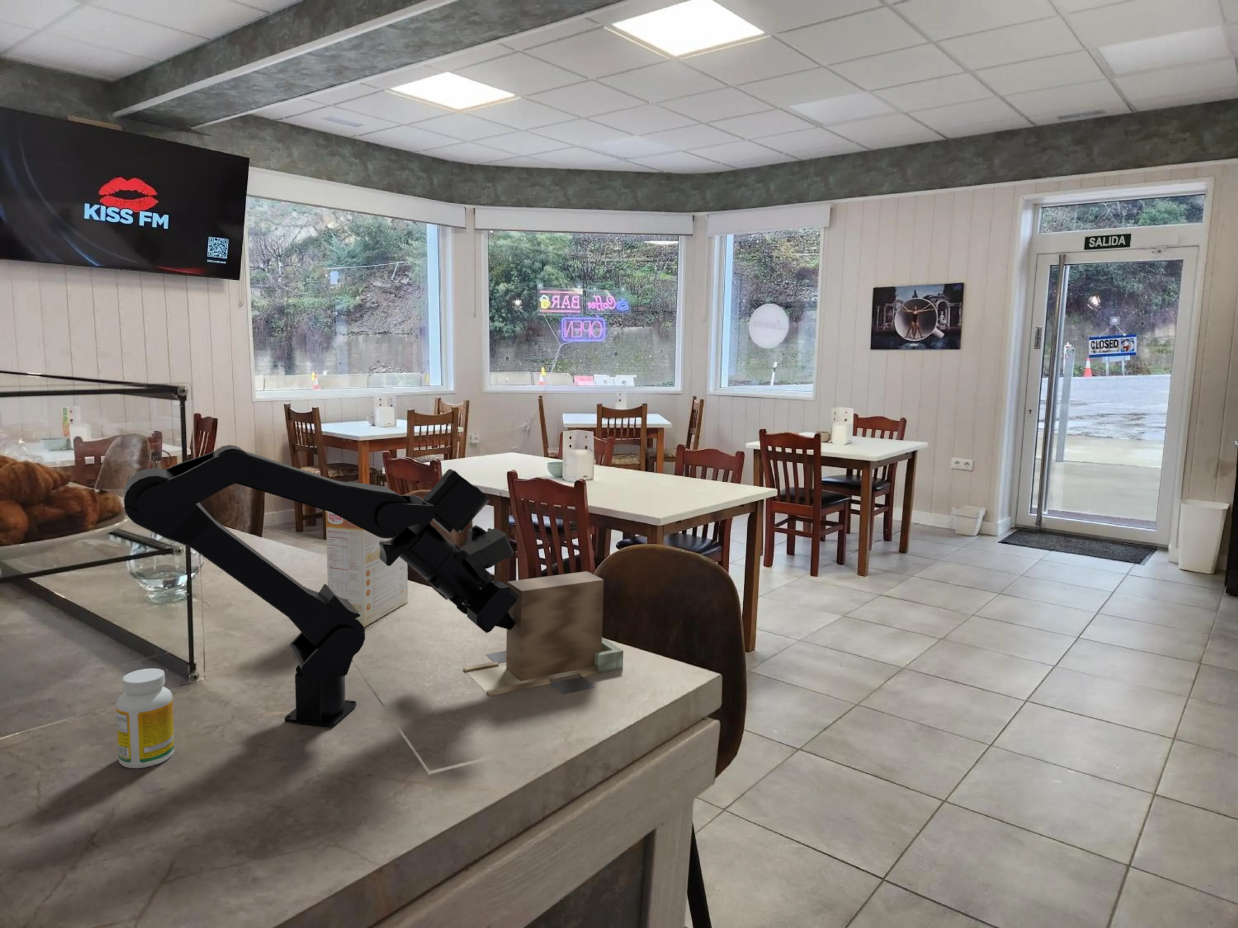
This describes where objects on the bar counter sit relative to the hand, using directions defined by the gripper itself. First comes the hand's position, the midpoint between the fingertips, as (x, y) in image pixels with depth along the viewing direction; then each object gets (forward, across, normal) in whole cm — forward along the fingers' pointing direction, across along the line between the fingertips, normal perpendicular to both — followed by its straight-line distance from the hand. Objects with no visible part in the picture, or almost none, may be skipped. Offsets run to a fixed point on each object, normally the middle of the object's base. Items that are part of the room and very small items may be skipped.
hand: (512, 626), depth 114 cm
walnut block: (+10, 0, 0) cm, 10 cm away
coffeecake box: (-2, +37, +13) cm, 39 cm away
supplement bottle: (-26, -2, +37) cm, 46 cm away
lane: (+9, 0, +2) cm, 9 cm away
